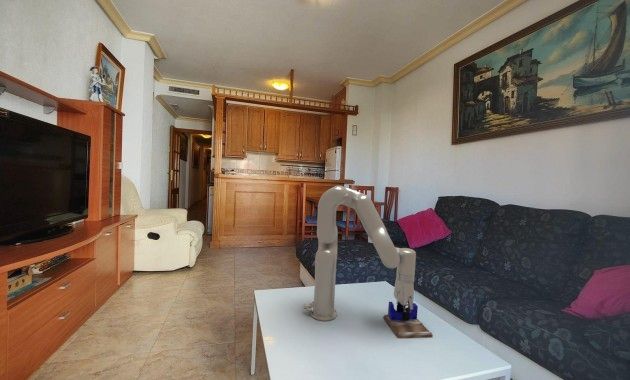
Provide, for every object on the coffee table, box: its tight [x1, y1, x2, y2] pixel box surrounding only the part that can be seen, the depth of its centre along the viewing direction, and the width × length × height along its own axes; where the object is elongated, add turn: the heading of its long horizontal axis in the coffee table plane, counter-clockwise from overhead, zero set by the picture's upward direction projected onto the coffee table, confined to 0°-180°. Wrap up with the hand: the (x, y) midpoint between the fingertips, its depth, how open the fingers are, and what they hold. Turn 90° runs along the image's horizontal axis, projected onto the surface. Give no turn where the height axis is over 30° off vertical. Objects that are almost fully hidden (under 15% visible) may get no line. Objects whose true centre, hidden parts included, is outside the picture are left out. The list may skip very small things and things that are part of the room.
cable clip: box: [387, 301, 419, 321], centre depth 117 cm, size 12×4×6 cm, turn 89°
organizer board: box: [382, 313, 433, 339], centre depth 114 cm, size 15×15×2 cm
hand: (402, 316), depth 117 cm, fingers closed on cable clip, 4 cm apart
